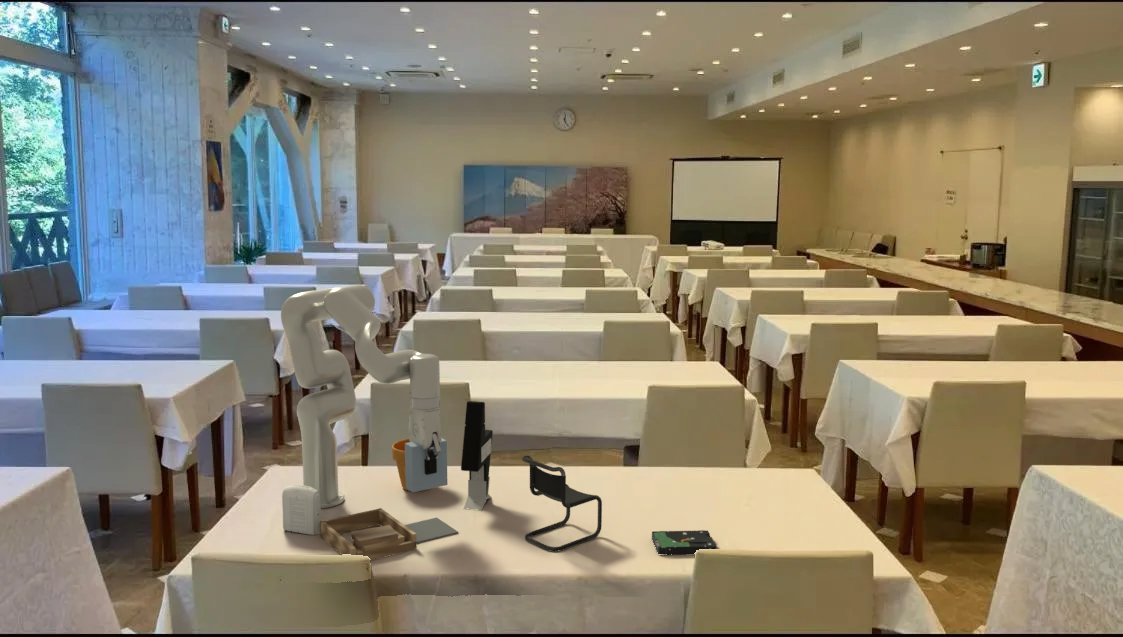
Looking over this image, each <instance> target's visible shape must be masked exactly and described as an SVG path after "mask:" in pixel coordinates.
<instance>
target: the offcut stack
mask: <svg viewBox="0 0 1123 637" xmlns="http://www.w3.org/2000/svg"><path fill="white" fill-rule="evenodd" d="M350 539H351V540H352V543H350V544H351V545H353V546H354V547H355V548H356V554H359V553H363V552H367V551H372V550H376V549H380V548H384V547H388V546H392V545H396V544H400V543H404V542H405V537H404V536H403V535H401V534H400V533H398V532H396V531H395V530H394V529H393V528H392V527H391V526H390V525H386V526H381V525H380V526H376V527H372V528H371V527H369V528H365V529H364V528H363V529H360V530H359V529H358V530H352V531H350Z"/></svg>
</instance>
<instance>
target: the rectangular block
mask: <svg viewBox="0 0 1123 637" xmlns="http://www.w3.org/2000/svg"><path fill="white" fill-rule="evenodd" d="M432 446H433V444H432V445H430V447H432ZM440 449H441V452H440V453H439V454H438V455H437V456H438V457H437V472H436V473H433V474H429V475H426V474H425V459H426V454H425V450H424V449H422V448H420V445H418V444H416V443H414V442H409V443H405V476H406V489H408V490H410V491H409V492H411V493H417V492H422V490H424V491H427V490H426V489H428V490H431V489H435V488H439V487H440V488H441V487H443V486H448V441H447V439H444V438H443V437H441V445H440ZM431 451H433V449H431V450H429V453H430V452H431Z"/></svg>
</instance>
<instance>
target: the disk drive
mask: <svg viewBox="0 0 1123 637" xmlns="http://www.w3.org/2000/svg"><path fill="white" fill-rule="evenodd" d="M652 540H653V541H652ZM651 541H652V543H654V544H653V546H654V545H655V546H654V548H655V547H656V549H655V551H656V550H657V551H656V553H657V552H658V554H667V555H666V556H687V555H686V554H694V553H695V552H696V550H699V549H717V548H718V546H717V544H716V542H715V540H714V538H713V537H712V536H711V534H710V531H709V530H708V529H707V530H704V529H702V530H700V529H699V530H668V531H667V530H659V531H658V530H657V531H651ZM717 550H718V549H717ZM658 554H657V555H658ZM671 554H672V555H671Z"/></svg>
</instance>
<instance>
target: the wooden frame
mask: <svg viewBox="0 0 1123 637" xmlns="http://www.w3.org/2000/svg"><path fill="white" fill-rule="evenodd" d="M378 524H379V525H380V527H381V526H386V525H390V526H391V527H392V528H393V529H394V530H395V531H396V532H398V533H400V534H401V535H403V536H404V537H405V542H404V543H400V544H396V545H392V546H388V547H384V548H380V549H376V550H372V551H367V552H363V553H359V554H356V548H355V547H354V546H353V545H351V544H352V543H350V542H349V541H348V540H347V539H345V538H344V537H343V536H342V535H341V534H344V533H347V532H353V531H358V530H359V529H360V530H362V529H364V528H365V529H367V528H370V527H373V526H379V525H378ZM405 525H406V524H404V523H403V522H401V521H400V520H398V519H397V518H395V517H394V516H393V515H391V514H390V513H388V512H387V511H386V510H384V509H383V508H381V507H379V508H376V509H371V510H367V511H362V512H357V513H352V514H348V515H344V516H339V517H335V518H334V517H333V518H330V519H325V520H321V521H320V533H319V537H320V536H321V537H320V538H322V540H324V541H325V542H326V543H327V545H329V544H330V545H331V546H330V545H329V546H330V547H332V548H333V549H334V551H336V550H337V551H336V552H337V553H338V552H339V553H341V554H351V555H363V556H368V557H369V558H370V559H371V560H370V561H374V560H378V559H381V558H385V556H386V557H390V556H393V554H394V555H398V554H402V553H405V552H409V551H414V550H417V549H418V548H417V547H418V546H417V545H418V543H417V540H416V533H415V532H413V531H412V530H411V529H409V528H408V527H406V526H405ZM369 526H370V527H369ZM339 553H338V554H339ZM341 554H340V555H341ZM389 555H390V556H389Z"/></svg>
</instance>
